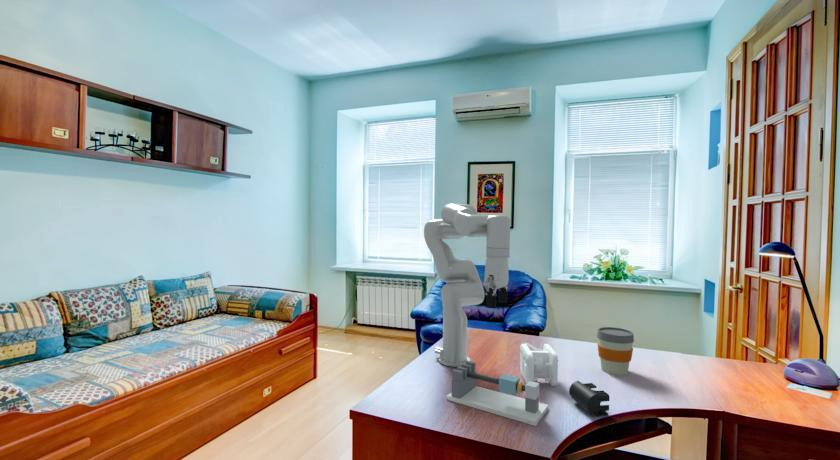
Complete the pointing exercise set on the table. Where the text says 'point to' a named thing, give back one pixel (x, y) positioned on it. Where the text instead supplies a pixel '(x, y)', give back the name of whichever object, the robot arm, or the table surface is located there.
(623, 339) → the reusable coffee cup
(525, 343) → the pale grey flat piece
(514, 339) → the table surface
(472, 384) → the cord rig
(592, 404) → the end cap
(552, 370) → the cable organizer
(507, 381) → the sleeve
